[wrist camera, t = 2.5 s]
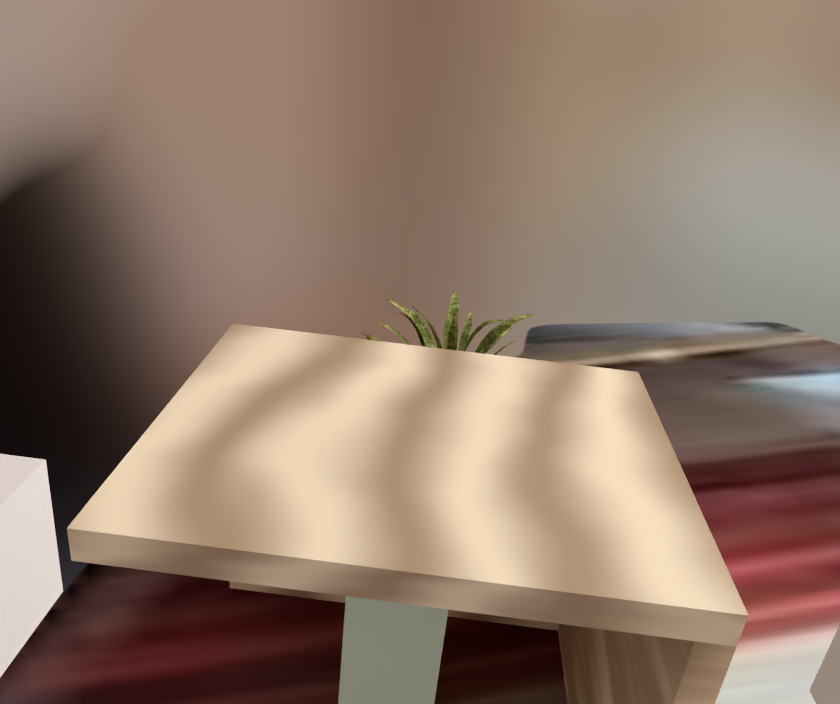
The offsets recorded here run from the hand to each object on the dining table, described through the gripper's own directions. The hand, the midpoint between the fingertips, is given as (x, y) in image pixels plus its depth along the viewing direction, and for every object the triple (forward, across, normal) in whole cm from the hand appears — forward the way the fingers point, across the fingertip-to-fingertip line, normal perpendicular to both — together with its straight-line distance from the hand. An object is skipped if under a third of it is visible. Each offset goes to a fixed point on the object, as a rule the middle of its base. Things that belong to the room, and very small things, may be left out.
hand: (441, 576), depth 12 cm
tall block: (+20, -1, -29) cm, 35 cm away
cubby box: (+20, -1, -29) cm, 35 cm away
